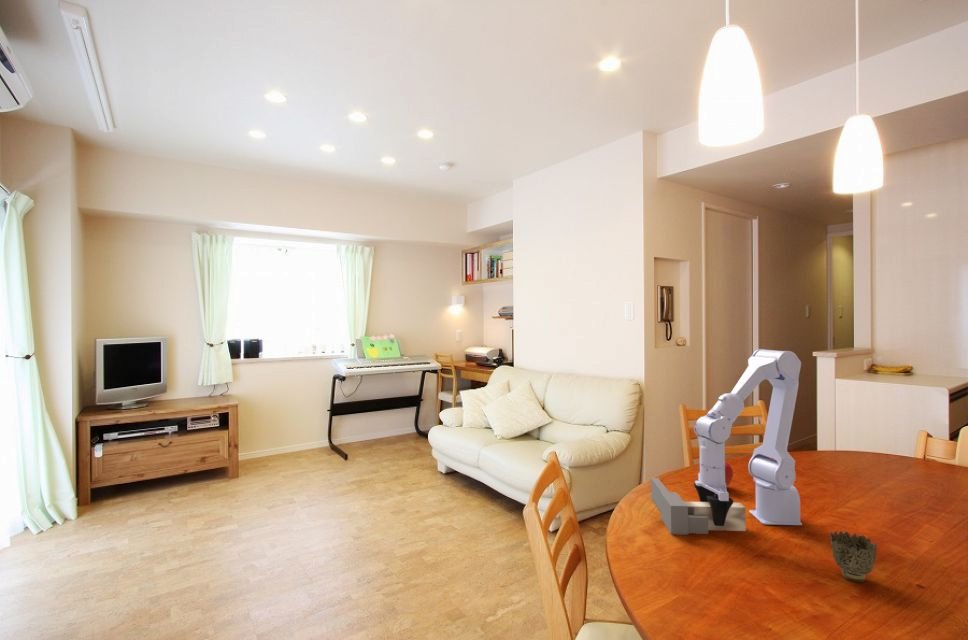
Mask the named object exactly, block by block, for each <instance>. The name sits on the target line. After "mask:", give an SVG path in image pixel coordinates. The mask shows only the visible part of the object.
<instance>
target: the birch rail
mask: <svg viewBox="0 0 968 640" xmlns="http://www.w3.org/2000/svg"><path fill="white" fill-rule="evenodd" d="M684 502H685V503H686V505H687V506H688V515H706V516H707V517H708V531H724V530H725V532H726V531H729V532H730V531H731V532H732V531H734V532H746V531H747V527H746V526H747V524H746V523H747V521H746V520H747V519H746V517H747V515H746V514H747V513H746V506H745V505H743V504H742V503H741V502H733V504H732V505H731V507H730V508H729V510H728V513H727V516H726V520H725V524H724V526H715V525H714V523H713V518H712V511H711V507H710V504H709V502H700V501H684Z"/></svg>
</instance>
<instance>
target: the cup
mask: <svg viewBox="0 0 968 640" xmlns="http://www.w3.org/2000/svg"><path fill="white" fill-rule="evenodd" d="M829 536H830V542H831V543H830V546H831V551H832V555H833V559H834V561H835V563H836V565H837V566H838V567H839V568H840V569H841V574H842V576H843V578H845V579H847V580H849V581H850V582H855V583H861V582H864V581H865V579H866V575H869V574H870V573H871V572H872V571H873V570H874V567H875V562H876V555H877V548H878V545H877V542H875V543H872V542H871V539H870V538H869V537H868V538H867V537H866V536H865V535H863V534H861V535H859V536H858V535H857V534H856V532H854V533H853V534H852V535H851V534H850V533H849V531H845V532H843V531H842V530H841V531H839V532H837V531H834V533H832V532H830V533H829Z"/></svg>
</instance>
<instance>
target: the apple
mask: <svg viewBox="0 0 968 640" xmlns="http://www.w3.org/2000/svg"><path fill="white" fill-rule="evenodd" d="M733 476H734V471H733V468H732V467H731V465H730V464H729V463H728V462H727V460H725V483H726V488H728V486H729V485H730V484H731V483H732V480H733Z"/></svg>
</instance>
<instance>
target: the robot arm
mask: <svg viewBox="0 0 968 640" xmlns="http://www.w3.org/2000/svg"><path fill="white" fill-rule="evenodd" d="M747 363H748V365H747V367H746V369H745V371H744V372H743V374H742V375H741V377H740V378H739V379H738V381H737V383H736V384H735V385H734V387H733V389H732V390H731V391H730V392H728V393H723V394H722V395H720V396H718V399H717V401H716V403H715V404H714V405H713V407H711V409H710V410H709V411H708V412H707V414H706V415H703V416H700V417H699V418H698V419H697V420H696V422H695V425H694V426H693V431H694V433H695V435H696V436H697V443H698V444H699V472H698V473H697V480H695V481H694V483H693V486H694V488H695V491H696V492H697V496H698V498H699V502H709V504H710V507H711V511H712V518H713V523H714V525H715V526H724V524H725V520H726V516H727V513H728V510H729V508H730V507H731V505H732V504H733V503H734V499H733V498H731V497H729V496H730V495H729V494H730V493H729V492H728V491H727V487H726V483H725V461H726V455H725V454H726V453H725V452H726V449H725V447H726V446H725V445H726V443H725V442H726V441H727V440H728V439H729V438H730V436H731V429H732V427H733V423H734V422H735V421H736V419H737V418H738V417H739V416H740V414H741V413H742V412H743V410H744V409H745V402H744V401H745V400H746V399H747V398H748V397H749V396H750V394H752V393H753V391H755V389H756V388H757V387H758V386H759V385H760V384H761V383H762V382H763V381H765V380H767V381H768V382H769V384H770V385H771V386H772V392H771V397H770V403H769V409H768V413H767V419H766V423H765V425H766V426H765V429H764V437H763V441H762V444H761V445H759V446H757V447H756V448H754V449H753V453H752V456H751V458H750V459H749V462H748V465H747V468H748V473H749V475H751V476H752V478H753V479H752V480H753V482H755V509H749V510H748V511H749V513H750V514H751V515H752V516H753V517H754V518H756V519H757V521H759V522H760V523H761V524H762V525H771V526H773V525H774V526H775V525H776V526H778V525H779V526H803V523H802V522H801V497H800V493H799V491H798V489H797V488H796V487H795V486H794V483H795V481H796V478H797V477H796V475H797V474H796V469H795V466H796V465H795V464H796V460H795V458H793V457H792V455H791V454H790V453H789V452H788V446H789V441H790V434H791V429H792V424H793V418H794V417H793V416H794V414H795V406H796V401H797V396H798V391H799V384H800V383H799V382H800V381H799V377H800V372H801V367H802V361H801V360H800V358H798V356H797V354H796V353H795V352H794V351H791V350H772V349H765V348H758V349H756V350H755V351H754V352H753V353H752V355H751V356H750V357H749V358H748V359H747Z"/></svg>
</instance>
